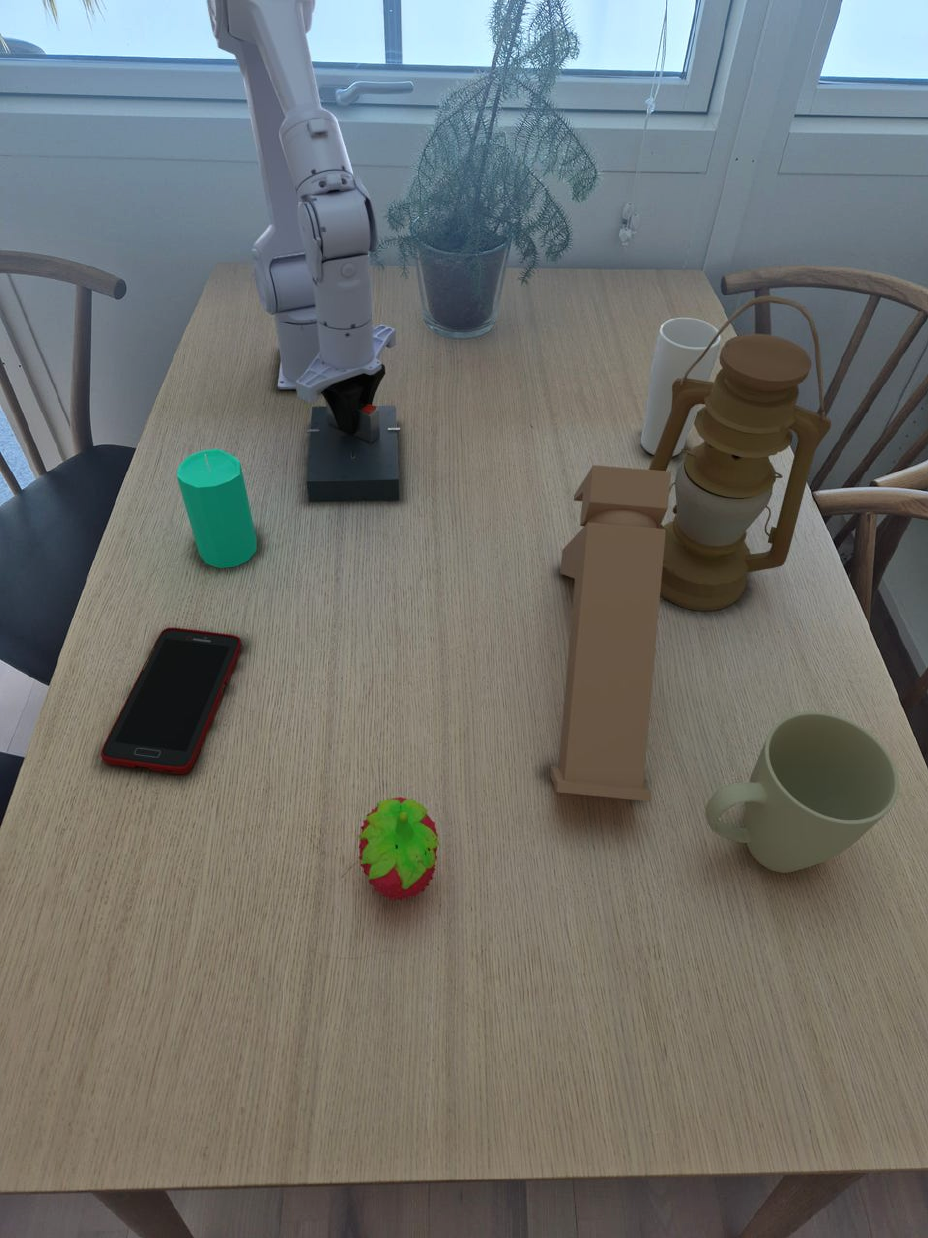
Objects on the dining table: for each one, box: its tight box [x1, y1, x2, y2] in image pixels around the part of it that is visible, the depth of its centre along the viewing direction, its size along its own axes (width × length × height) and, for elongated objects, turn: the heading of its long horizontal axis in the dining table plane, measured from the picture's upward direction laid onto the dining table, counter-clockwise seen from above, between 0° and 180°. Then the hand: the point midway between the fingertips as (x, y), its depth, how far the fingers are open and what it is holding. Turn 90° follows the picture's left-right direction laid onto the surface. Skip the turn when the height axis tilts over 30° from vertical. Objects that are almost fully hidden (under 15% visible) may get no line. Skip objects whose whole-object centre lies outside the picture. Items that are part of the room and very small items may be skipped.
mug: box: [704, 710, 900, 874], centre depth 61 cm, size 11×10×12 cm
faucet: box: [549, 464, 672, 802], centre depth 74 cm, size 7×23×25 cm
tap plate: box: [305, 404, 401, 503], centre depth 95 cm, size 14×11×3 cm
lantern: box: [648, 295, 832, 612], centre depth 75 cm, size 15×10×30 cm
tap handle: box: [324, 399, 380, 443], centre depth 94 cm, size 6×2×4 cm, turn 56°
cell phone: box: [100, 627, 243, 775], centre depth 73 cm, size 8×15×1 cm, turn 172°
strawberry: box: [358, 796, 440, 902], centre depth 59 cm, size 6×7×10 cm
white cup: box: [640, 317, 722, 457], centre depth 95 cm, size 7×7×15 cm
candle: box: [176, 448, 258, 569], centre depth 82 cm, size 6×6×12 cm
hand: (353, 426), depth 95 cm, fingers closed on tap handle, 2 cm apart
